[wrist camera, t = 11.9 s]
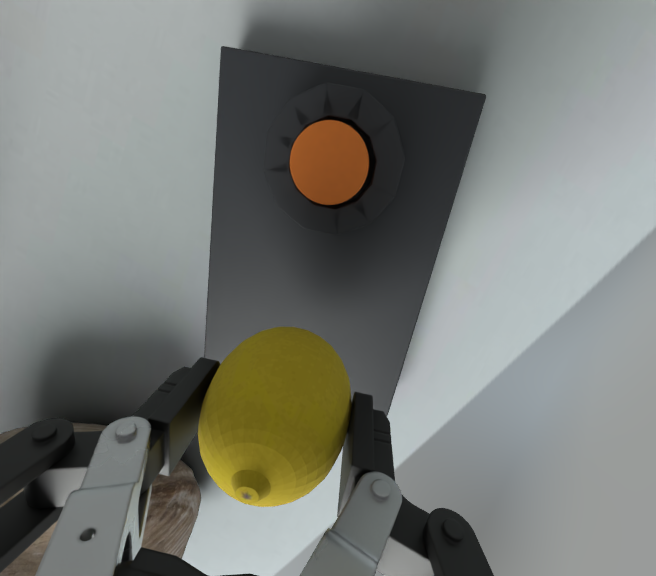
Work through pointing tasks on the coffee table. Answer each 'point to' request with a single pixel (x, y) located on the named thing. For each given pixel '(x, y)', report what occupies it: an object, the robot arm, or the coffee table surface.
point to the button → (329, 162)
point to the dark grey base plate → (330, 210)
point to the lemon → (275, 417)
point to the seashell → (161, 523)
